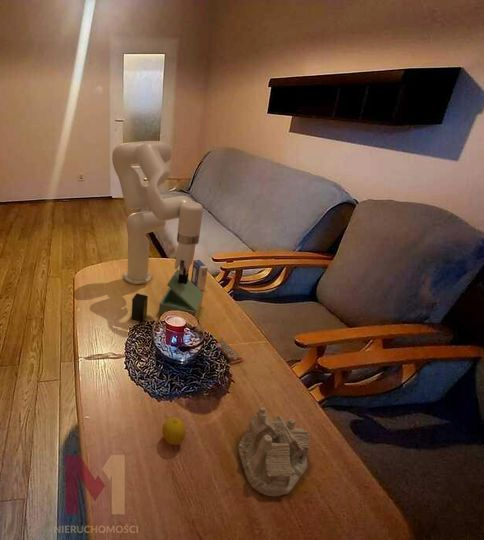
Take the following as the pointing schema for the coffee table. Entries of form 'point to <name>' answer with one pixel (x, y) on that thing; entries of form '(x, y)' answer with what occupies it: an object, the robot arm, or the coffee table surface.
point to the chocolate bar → (228, 353)
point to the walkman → (199, 274)
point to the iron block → (139, 307)
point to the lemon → (174, 431)
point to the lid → (186, 291)
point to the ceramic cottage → (273, 454)
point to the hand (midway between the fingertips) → (182, 282)
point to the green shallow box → (176, 304)
